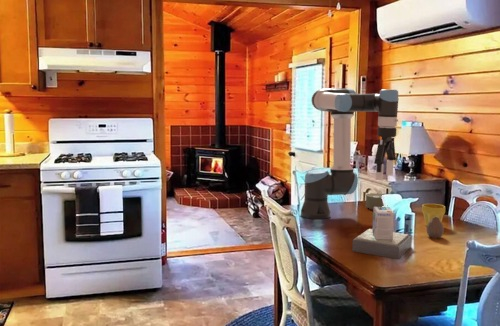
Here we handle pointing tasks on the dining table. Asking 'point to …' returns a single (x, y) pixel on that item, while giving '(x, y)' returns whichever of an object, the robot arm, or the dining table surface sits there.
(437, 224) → the gray brown egg
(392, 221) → the light bulb box
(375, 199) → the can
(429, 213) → the plant pot
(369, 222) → the dining table surface
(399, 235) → the stand
